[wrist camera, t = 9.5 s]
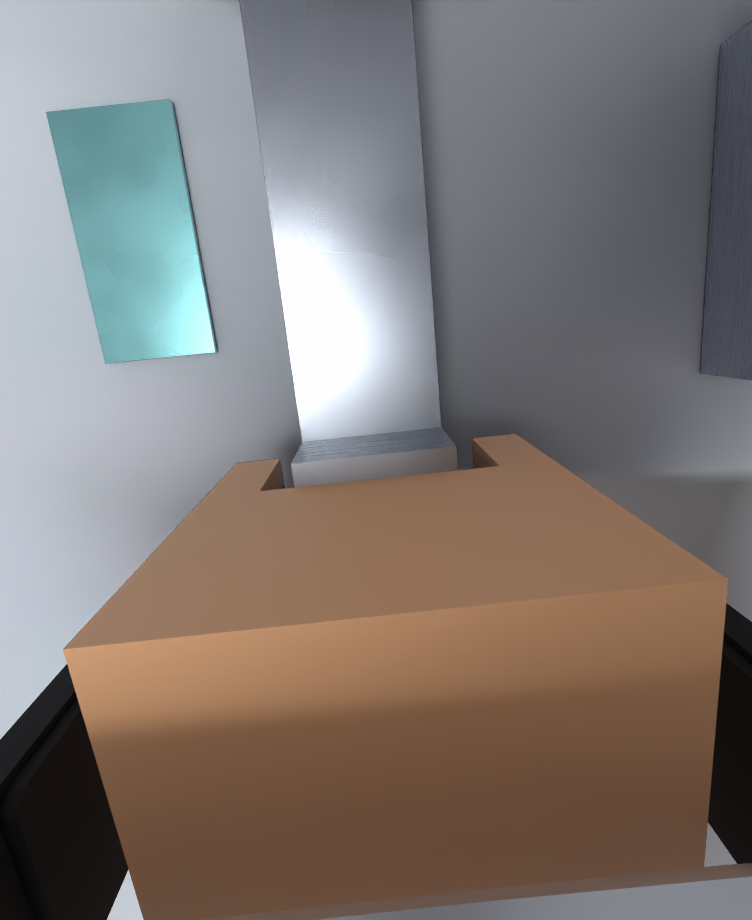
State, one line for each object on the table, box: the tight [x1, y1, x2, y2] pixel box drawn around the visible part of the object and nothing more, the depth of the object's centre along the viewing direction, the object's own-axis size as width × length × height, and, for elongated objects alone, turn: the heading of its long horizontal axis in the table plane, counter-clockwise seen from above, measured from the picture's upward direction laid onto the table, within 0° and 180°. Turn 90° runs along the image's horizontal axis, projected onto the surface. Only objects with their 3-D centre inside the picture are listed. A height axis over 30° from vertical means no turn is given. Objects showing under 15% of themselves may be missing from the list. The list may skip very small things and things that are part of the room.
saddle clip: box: [63, 434, 728, 920], centre depth 9 cm, size 6×7×7 cm
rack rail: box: [46, 0, 458, 488], centre depth 10 cm, size 10×20×8 cm, turn 6°
